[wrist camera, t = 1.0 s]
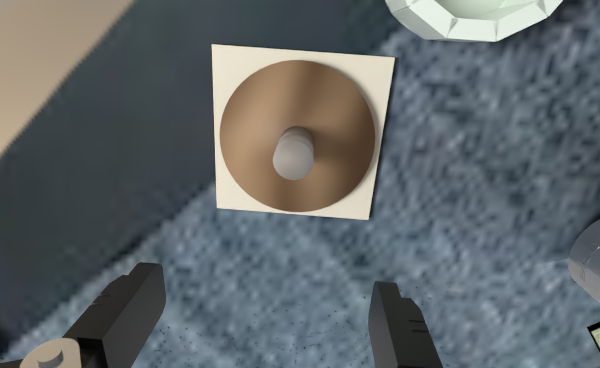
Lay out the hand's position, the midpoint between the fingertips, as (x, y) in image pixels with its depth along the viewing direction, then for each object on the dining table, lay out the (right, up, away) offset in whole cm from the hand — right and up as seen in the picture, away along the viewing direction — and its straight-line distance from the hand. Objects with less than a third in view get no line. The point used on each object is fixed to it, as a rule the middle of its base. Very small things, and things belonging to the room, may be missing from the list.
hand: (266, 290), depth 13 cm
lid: (+1, +8, +18) cm, 20 cm away
